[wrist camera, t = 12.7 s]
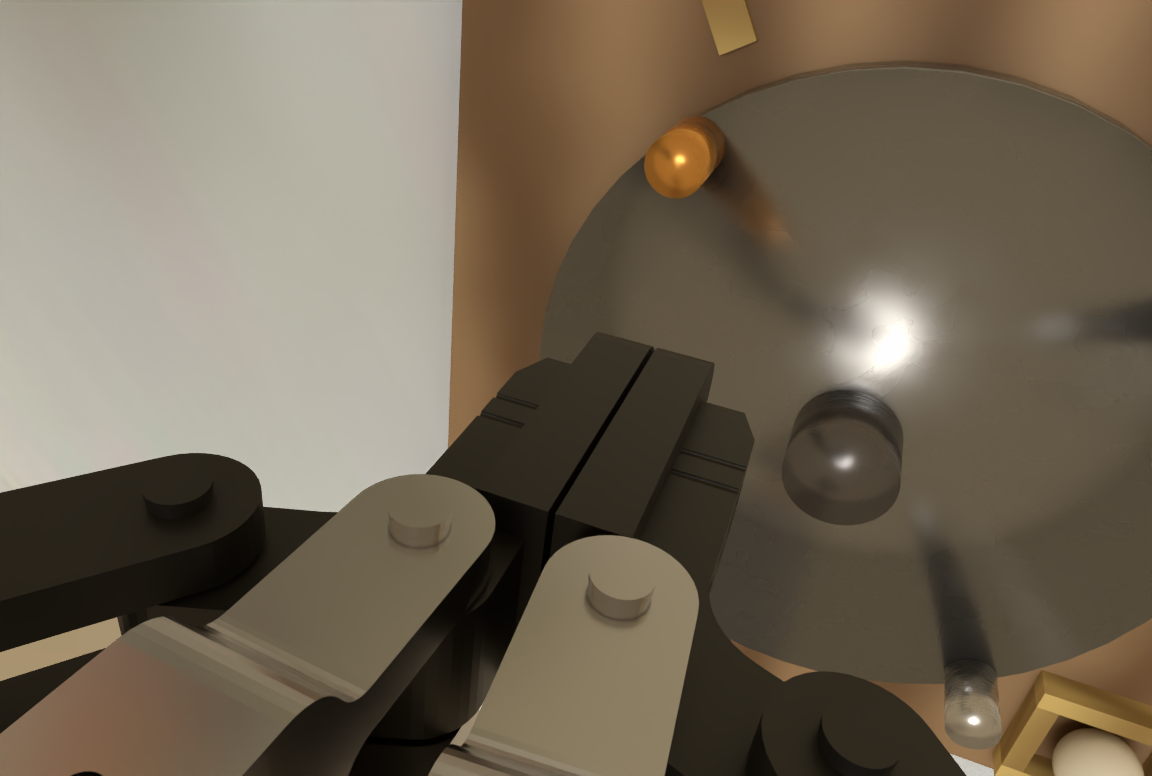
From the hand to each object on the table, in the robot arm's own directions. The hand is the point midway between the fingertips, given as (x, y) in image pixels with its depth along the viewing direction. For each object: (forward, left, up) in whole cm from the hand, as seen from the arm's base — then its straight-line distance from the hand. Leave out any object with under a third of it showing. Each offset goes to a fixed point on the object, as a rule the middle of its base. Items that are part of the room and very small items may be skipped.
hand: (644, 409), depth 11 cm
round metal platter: (+4, -9, -18) cm, 21 cm away
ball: (+16, -21, -17) cm, 32 cm away
